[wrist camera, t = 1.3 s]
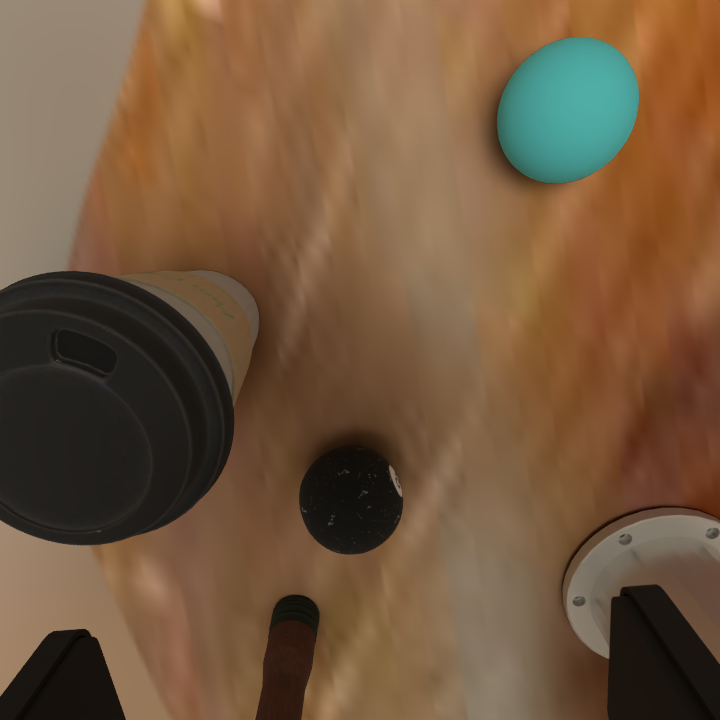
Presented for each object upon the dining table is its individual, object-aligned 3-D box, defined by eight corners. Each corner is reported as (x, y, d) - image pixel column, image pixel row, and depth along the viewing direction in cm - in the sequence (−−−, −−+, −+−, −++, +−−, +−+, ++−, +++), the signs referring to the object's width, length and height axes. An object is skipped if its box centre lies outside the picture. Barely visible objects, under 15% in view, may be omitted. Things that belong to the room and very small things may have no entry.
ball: (621, 138, 26) (693, 121, 20) (520, 208, 27) (561, 210, 21) (566, 30, 25) (627, -21, 19) (462, 108, 26) (489, 83, 20)
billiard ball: (290, 451, 32) (273, 506, 26) (376, 415, 31) (378, 464, 25) (331, 523, 34) (323, 590, 28) (413, 492, 33) (423, 554, 27)
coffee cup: (277, 231, 28) (183, 266, 13) (299, 389, 31) (241, 556, 16) (111, 246, 28) (-152, 297, 14) (148, 401, 31) (-38, 575, 17)
